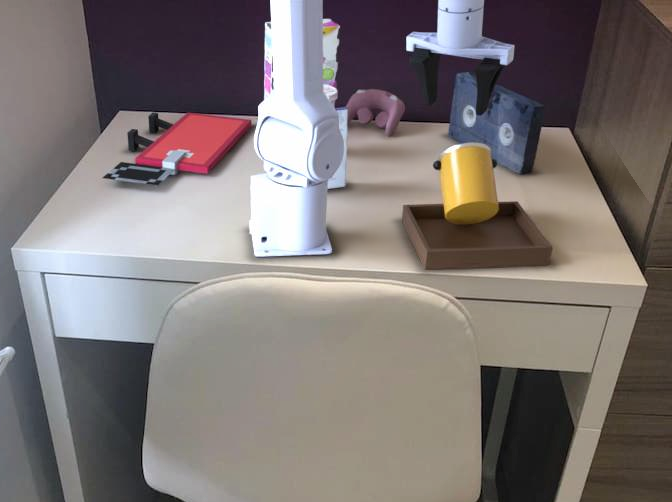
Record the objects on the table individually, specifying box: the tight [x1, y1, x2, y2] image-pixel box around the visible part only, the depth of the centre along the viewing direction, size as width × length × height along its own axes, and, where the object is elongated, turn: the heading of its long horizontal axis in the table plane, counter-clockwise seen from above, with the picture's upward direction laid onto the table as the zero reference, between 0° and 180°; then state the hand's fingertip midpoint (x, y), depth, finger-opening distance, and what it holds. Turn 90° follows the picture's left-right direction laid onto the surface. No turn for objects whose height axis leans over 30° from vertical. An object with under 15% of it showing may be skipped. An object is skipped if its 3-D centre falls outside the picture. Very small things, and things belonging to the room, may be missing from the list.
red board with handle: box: [102, 112, 252, 187], centre depth 128 cm, size 30×3×15 cm
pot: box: [432, 142, 499, 225], centre depth 105 cm, size 8×10×10 cm
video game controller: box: [345, 88, 406, 137], centre depth 138 cm, size 10×5×7 cm, turn 58°
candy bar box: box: [263, 18, 341, 108], centre depth 134 cm, size 11×5×16 cm, turn 107°
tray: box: [401, 200, 554, 270], centre depth 104 cm, size 15×13×2 cm
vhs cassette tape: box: [447, 71, 546, 175], centre depth 127 cm, size 18×3×10 cm, turn 25°
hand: (455, 108), depth 116 cm, fingers open, 7 cm apart
